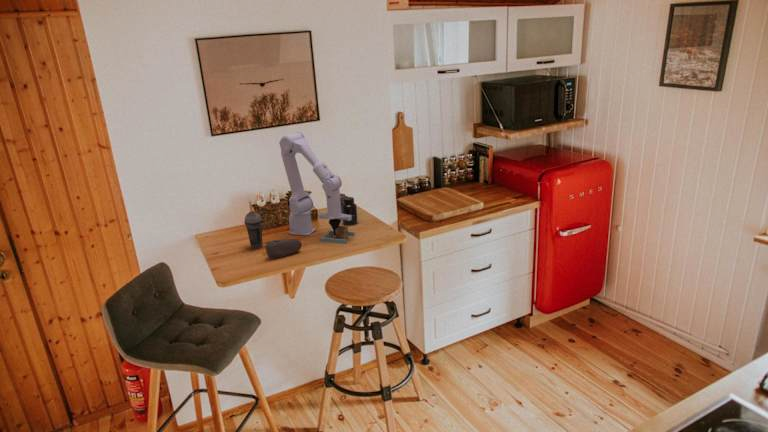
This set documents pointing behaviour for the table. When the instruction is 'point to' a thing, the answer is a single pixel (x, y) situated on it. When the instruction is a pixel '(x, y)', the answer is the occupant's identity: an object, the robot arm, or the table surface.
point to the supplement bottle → (349, 210)
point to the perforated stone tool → (282, 247)
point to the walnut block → (341, 232)
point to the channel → (329, 239)
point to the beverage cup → (254, 228)
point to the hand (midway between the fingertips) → (336, 235)
